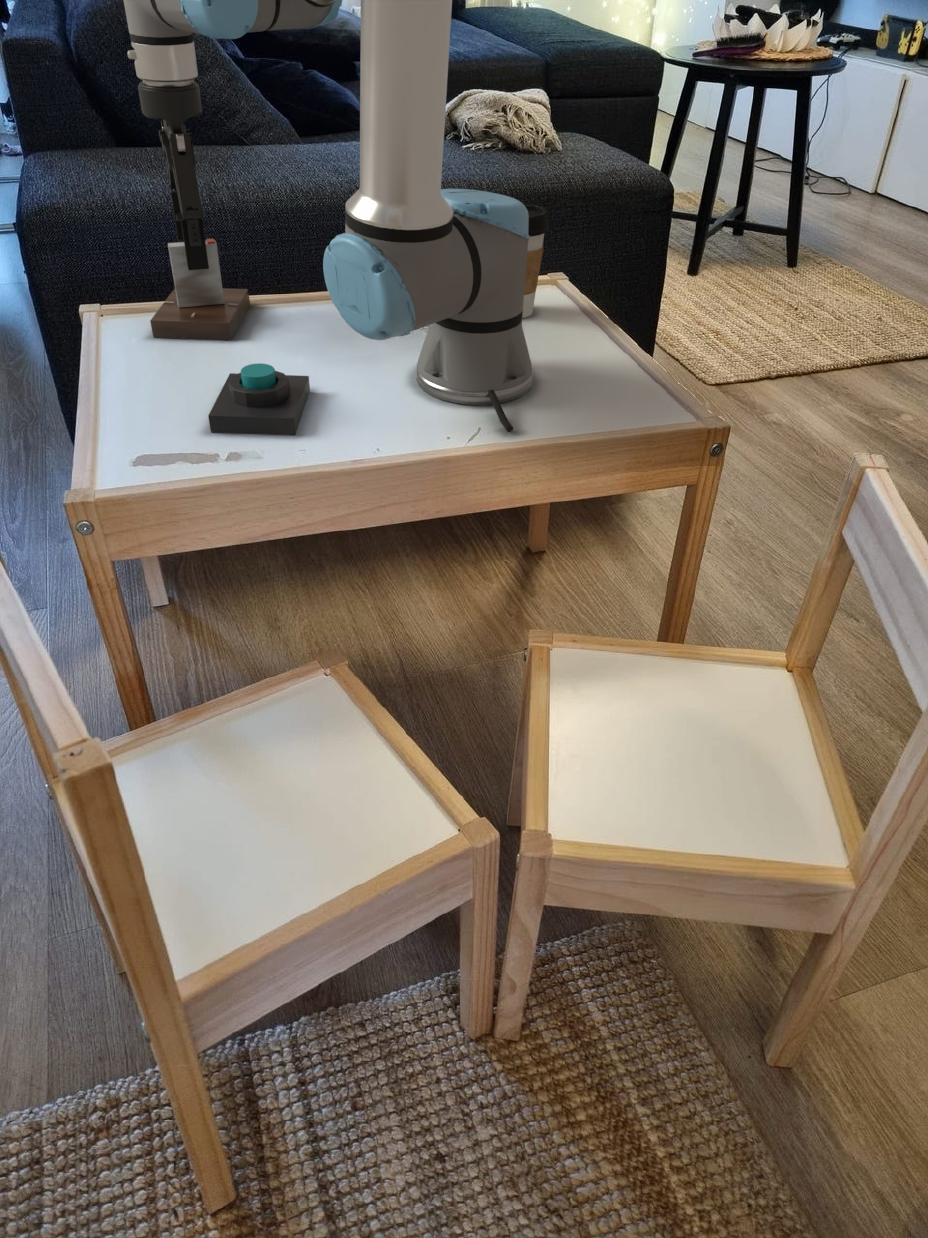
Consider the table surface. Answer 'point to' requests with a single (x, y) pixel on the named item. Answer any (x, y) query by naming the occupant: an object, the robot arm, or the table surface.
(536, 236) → the coffee cup
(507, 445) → the table surface
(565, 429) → the table surface
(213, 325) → the panel
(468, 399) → the robot arm
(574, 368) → the table surface
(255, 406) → the button block
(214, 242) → the grey flat upright block
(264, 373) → the button
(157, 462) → the table surface
